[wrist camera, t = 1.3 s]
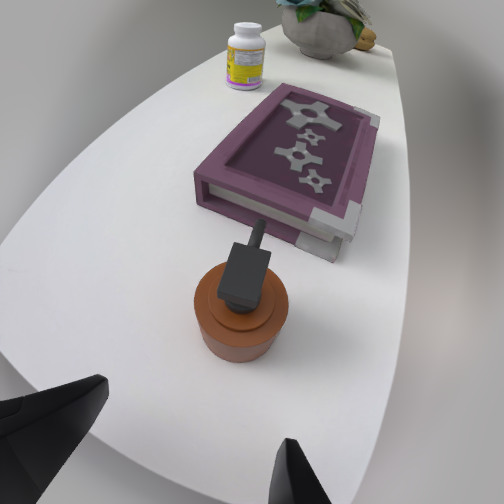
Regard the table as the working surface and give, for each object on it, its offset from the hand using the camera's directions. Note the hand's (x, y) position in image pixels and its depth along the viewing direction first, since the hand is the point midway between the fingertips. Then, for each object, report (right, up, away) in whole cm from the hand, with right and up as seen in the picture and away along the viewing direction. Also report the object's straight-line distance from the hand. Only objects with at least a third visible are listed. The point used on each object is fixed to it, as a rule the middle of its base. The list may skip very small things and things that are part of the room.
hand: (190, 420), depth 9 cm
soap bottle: (+1, -1, +16) cm, 16 cm away
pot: (+39, +78, +68) cm, 111 cm away
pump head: (+2, +5, +9) cm, 10 cm away
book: (+9, +17, +28) cm, 34 cm away
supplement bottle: (+1, +38, +40) cm, 55 cm away
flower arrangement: (+20, +60, +55) cm, 84 cm away
